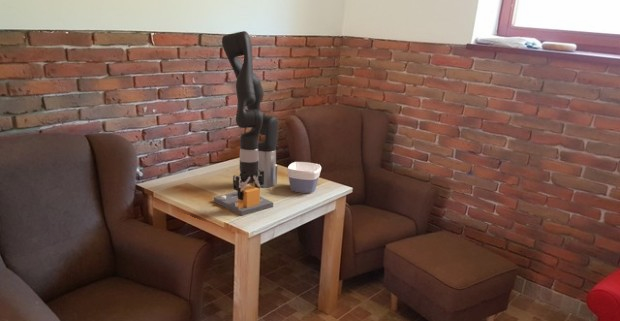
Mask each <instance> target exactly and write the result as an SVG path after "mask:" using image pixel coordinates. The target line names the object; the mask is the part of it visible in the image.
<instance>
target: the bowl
mask: <svg viewBox="0 0 620 321" xmlns="http://www.w3.org/2000/svg"><path fill="white" fill-rule="evenodd" d="M321 171H322V166H321V165H320V163H319V164H318V163H313V162H307V161H306V162H305V161H294V162H291V163H290V164H289V165H288V167H287V169H286V172H287V176H288V182H289V186H290V190H291V191H292V192H296V193H303V194H311V193H314V192H315V191H316V189H317V185H318V182H319V178H320V175H321Z"/></svg>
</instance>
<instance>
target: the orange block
mask: <svg viewBox="0 0 620 321" xmlns="http://www.w3.org/2000/svg"><path fill="white" fill-rule="evenodd" d="M254 186H255V185H252V184H250V185H248V186H246V187H244V189H243V200H239V199H238V202H239V203H244V206H245V207H247V208H248V207H251V206H255V205H258V204H260V197H261V194H260V193H261V191H260V190H261V188H260V189H259V188H256V187H254Z"/></svg>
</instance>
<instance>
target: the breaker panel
mask: <svg viewBox="0 0 620 321" xmlns="http://www.w3.org/2000/svg"><path fill="white" fill-rule="evenodd" d="M213 202H214V203H216V204H217V205H220V206H221V207H223V208H226V209H228V210H229V211H231V212H233V213H235V214H237V215H239V216H242V217H243V216H244V217H245V216H247V215H249V214H253V213H256V212H260V211H264V210H268V209H271V208H273V207H274V202H273V201H271V200H269V199H266V198H264V197H263V196H260V204H258V205H255V206H251V207H248V208H247V207H245V206H244V203H239V202H238V191H234V192H229V193H226V194H221V195H217V196H214V197H213Z"/></svg>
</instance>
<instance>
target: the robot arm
mask: <svg viewBox="0 0 620 321" xmlns="http://www.w3.org/2000/svg"><path fill="white" fill-rule="evenodd" d="M221 44H222V48H223V51H224V53H225V56H226V58H227V59H228V62H229V64H230V66H231V68H232V70H233V73H234V75H235V78H236V82H235V92H236V96H237V108H236V113H235V114H236V115H235V122H236V125H237V126H238V128H242V129H244V128H245V129H247V128H250V130H249V131H247V132H244V133H241V134H240V137H239V138H240V144H239V146H240V148H239V149H240V150H239V173H240V174H239V175H233V176H232V189H233V190H234V191H235V192H237V191H238V199H239V200H243V189H244V187H246V185H247V184H250V185H251V184H253V186H254V187H256V188H259V189H260V190H261V188H270V187H274V186H276V185H277V184H278V165H277V163H276V162H277V146H278V138H279V120H278V118H277V117H276V116H273V115H272V116H271V115H267V114H264V113H263V112H262V108H261V103H262V99H263V96H264V88H263V86H262V83H261V80H260V78H259V76H258V75H257V74H256V73H255V72H253V70H254V67H253V63H254V62H253V44H252V40H251V37H250V34H249V33H248V32H247V31H245V30H242V31H238V32H232V33H229V34H225V35H223V36H222V39H221ZM242 56H243V63H242V62H241V60H240V59H239V57H242ZM246 108H247V109H246ZM260 135H262V136H265V138H264V140H263V141H262V140H261V141H259V137H260ZM242 183H244V184H242Z"/></svg>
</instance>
